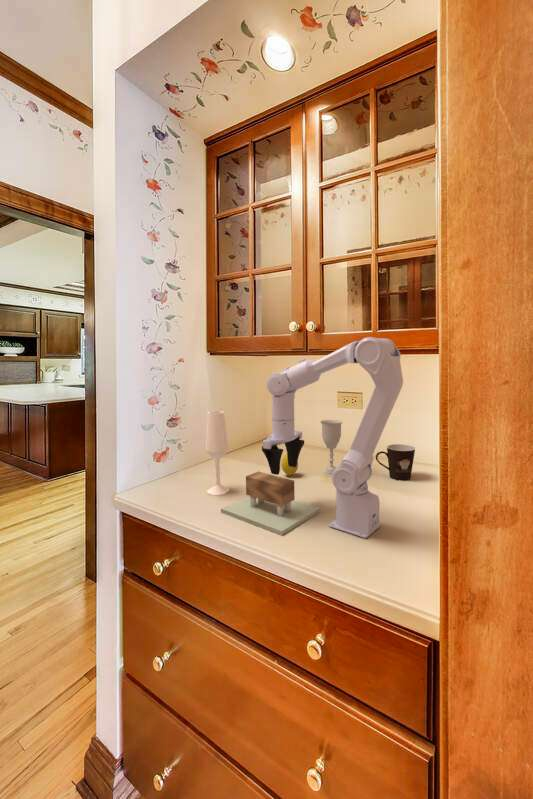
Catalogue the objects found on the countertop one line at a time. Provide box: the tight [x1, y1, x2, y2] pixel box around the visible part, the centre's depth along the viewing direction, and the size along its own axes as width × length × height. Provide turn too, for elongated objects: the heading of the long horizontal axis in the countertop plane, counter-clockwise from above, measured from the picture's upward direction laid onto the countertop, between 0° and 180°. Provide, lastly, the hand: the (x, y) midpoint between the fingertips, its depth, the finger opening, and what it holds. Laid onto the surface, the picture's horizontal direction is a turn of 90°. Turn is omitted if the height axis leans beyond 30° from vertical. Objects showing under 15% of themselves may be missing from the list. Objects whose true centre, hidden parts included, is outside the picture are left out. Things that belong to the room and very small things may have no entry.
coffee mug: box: [375, 443, 416, 482], centre depth 120 cm, size 12×9×10 cm
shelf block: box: [245, 471, 296, 506], centre depth 94 cm, size 12×5×5 cm, turn 50°
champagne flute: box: [205, 410, 230, 496], centre depth 109 cm, size 7×7×24 cm
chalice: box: [320, 419, 343, 477], centre depth 123 cm, size 7×7×18 cm
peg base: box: [220, 495, 321, 536], centre depth 95 cm, size 20×16×4 cm
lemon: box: [281, 453, 299, 477], centre depth 123 cm, size 6×6×8 cm
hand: (284, 470), depth 96 cm, fingers open, 7 cm apart
